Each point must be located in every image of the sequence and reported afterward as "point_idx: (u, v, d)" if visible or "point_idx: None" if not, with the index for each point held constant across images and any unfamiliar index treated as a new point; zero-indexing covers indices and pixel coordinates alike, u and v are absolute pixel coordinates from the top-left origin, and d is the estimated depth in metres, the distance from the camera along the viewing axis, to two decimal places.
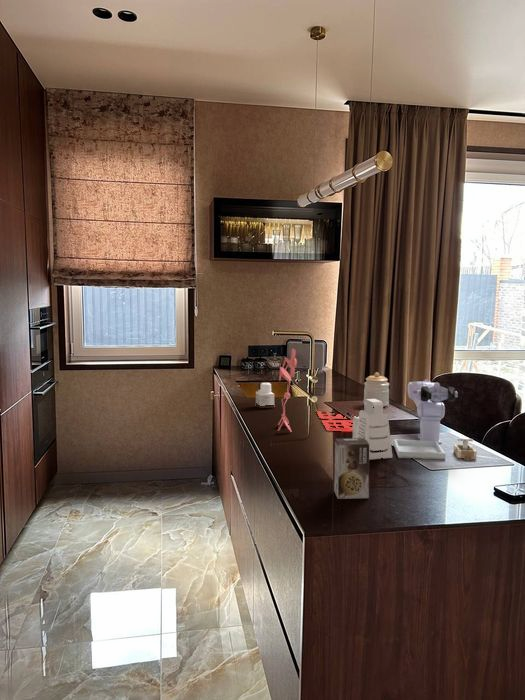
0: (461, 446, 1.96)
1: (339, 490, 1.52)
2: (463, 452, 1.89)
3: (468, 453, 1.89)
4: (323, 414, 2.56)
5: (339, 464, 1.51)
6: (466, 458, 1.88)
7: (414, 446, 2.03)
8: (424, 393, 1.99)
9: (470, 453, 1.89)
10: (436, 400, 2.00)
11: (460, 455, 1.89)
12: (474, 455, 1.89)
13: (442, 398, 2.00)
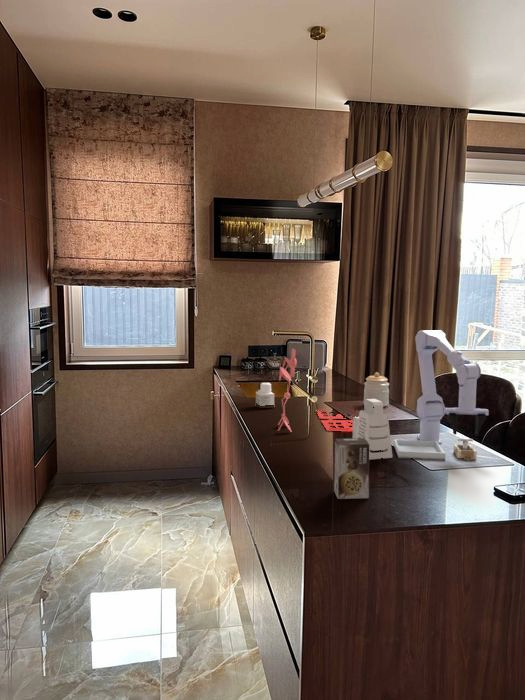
0: (461, 446, 1.96)
1: (339, 490, 1.52)
2: (463, 452, 1.89)
3: (468, 453, 1.89)
4: (323, 414, 2.56)
5: (339, 464, 1.51)
6: (466, 458, 1.88)
7: (414, 446, 2.03)
8: None
9: (470, 453, 1.89)
10: None
11: (460, 455, 1.89)
12: (474, 455, 1.89)
13: None
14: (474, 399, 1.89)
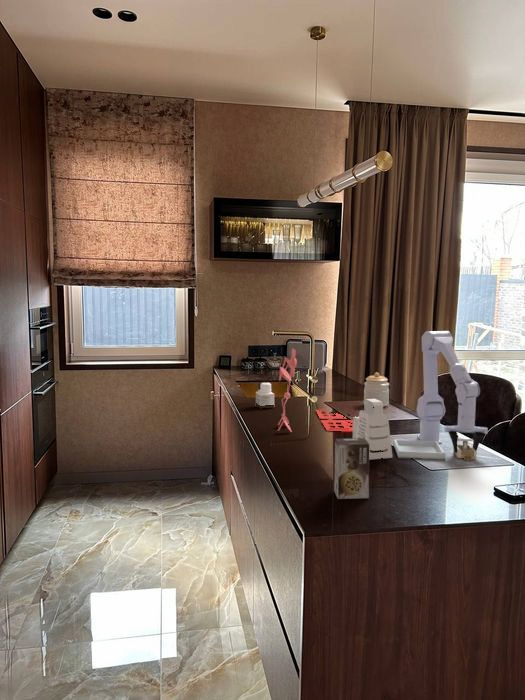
0: (461, 446, 1.96)
1: (339, 490, 1.52)
2: (463, 452, 1.89)
3: (468, 453, 1.89)
4: (323, 414, 2.56)
5: (339, 464, 1.51)
6: (466, 458, 1.88)
7: (414, 446, 2.03)
8: None
9: (470, 453, 1.89)
10: None
11: (460, 455, 1.89)
12: (474, 455, 1.89)
13: None
14: (473, 418, 1.89)
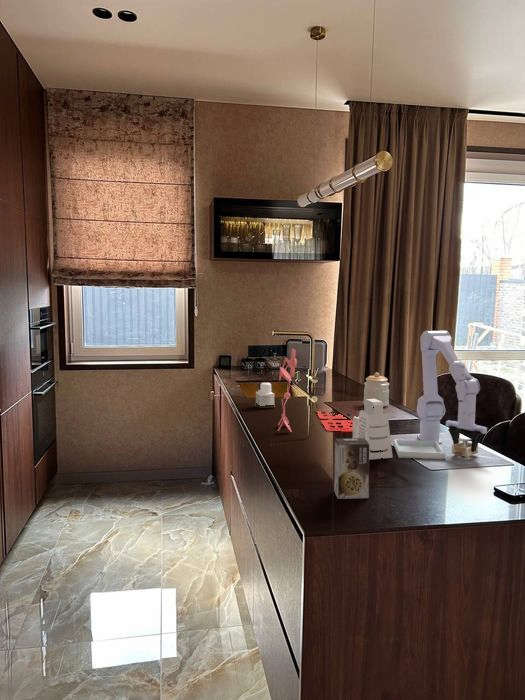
0: None
1: (339, 490, 1.52)
2: (455, 447, 1.91)
3: (460, 449, 1.90)
4: (323, 414, 2.56)
5: (339, 464, 1.51)
6: (455, 453, 1.90)
7: (414, 446, 2.03)
8: None
9: (462, 449, 1.89)
10: None
11: (453, 450, 1.92)
12: (465, 452, 1.88)
13: None
14: (469, 415, 1.89)
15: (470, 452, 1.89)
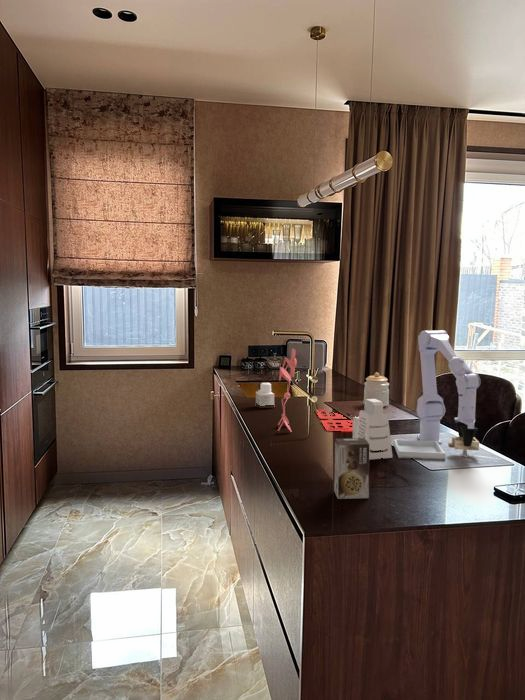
0: (474, 440, 1.93)
1: (339, 490, 1.52)
2: (452, 439, 1.94)
3: (453, 441, 1.93)
4: (322, 414, 2.56)
5: (339, 464, 1.51)
6: (448, 444, 1.94)
7: (414, 446, 2.03)
8: (462, 423, 1.96)
9: (454, 441, 1.92)
10: None
11: (452, 441, 1.96)
12: (455, 444, 1.91)
13: None
14: (462, 408, 1.90)
15: (461, 446, 1.90)
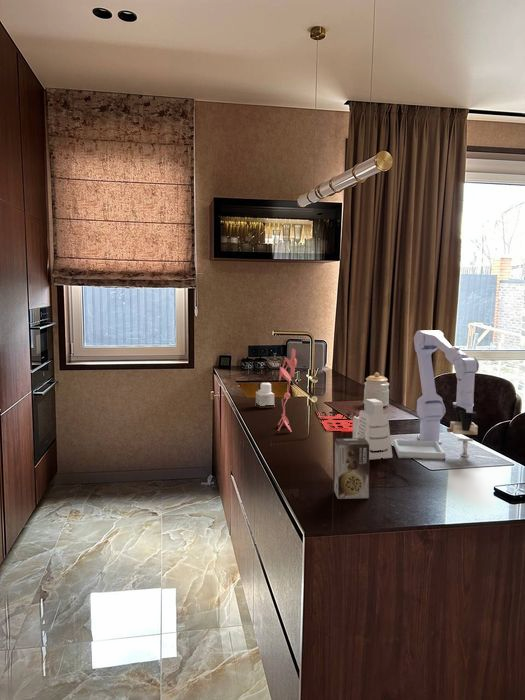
0: (472, 425, 1.92)
1: (339, 490, 1.52)
2: (451, 424, 1.94)
3: (452, 426, 1.92)
4: (321, 414, 2.56)
5: (339, 464, 1.51)
6: (447, 429, 1.94)
7: (414, 446, 2.03)
8: None
9: (452, 426, 1.92)
10: None
11: (450, 426, 1.95)
12: (453, 429, 1.90)
13: None
14: (460, 393, 1.89)
15: (460, 430, 1.90)
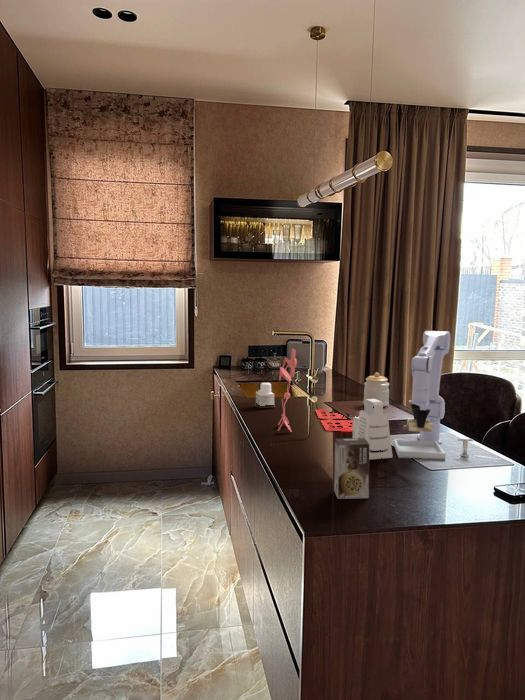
0: (428, 422, 1.96)
1: (339, 490, 1.52)
2: (407, 421, 1.98)
3: (408, 423, 1.96)
4: (322, 414, 2.56)
5: (339, 464, 1.51)
6: (403, 426, 1.98)
7: (414, 446, 2.03)
8: None
9: (408, 423, 1.96)
10: None
11: (407, 423, 1.99)
12: (409, 426, 1.94)
13: None
14: (415, 391, 1.93)
15: (415, 427, 1.93)
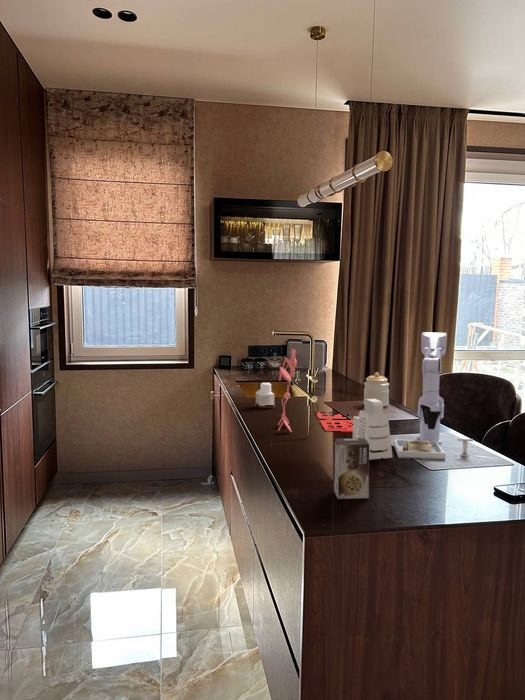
0: (427, 444, 1.97)
1: (339, 490, 1.52)
2: (407, 442, 1.99)
3: (407, 444, 1.97)
4: (321, 414, 2.56)
5: (339, 464, 1.51)
6: (403, 447, 1.98)
7: None
8: None
9: (408, 445, 1.96)
10: None
11: (406, 445, 2.00)
12: (408, 448, 1.95)
13: None
14: (426, 392, 1.95)
15: (414, 449, 1.94)
